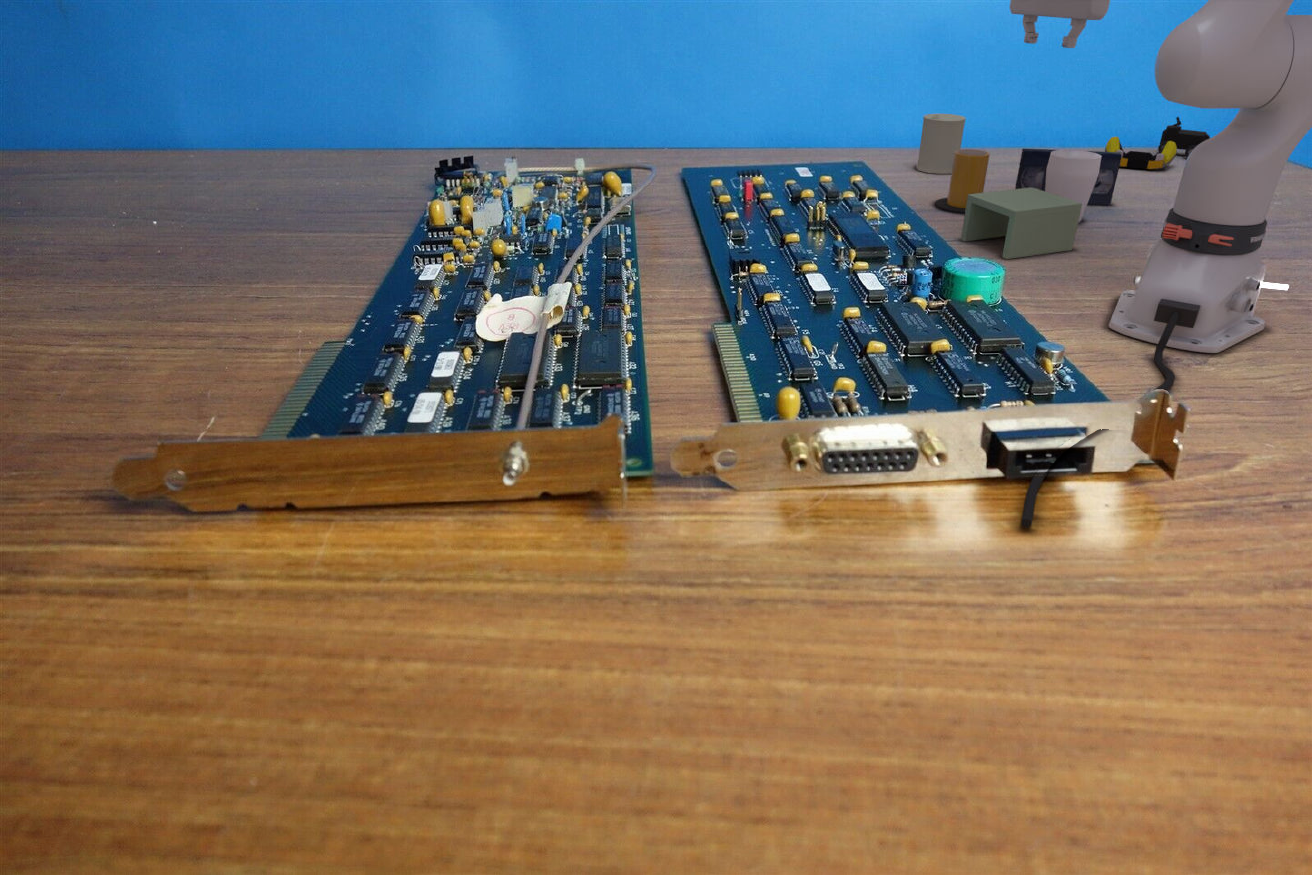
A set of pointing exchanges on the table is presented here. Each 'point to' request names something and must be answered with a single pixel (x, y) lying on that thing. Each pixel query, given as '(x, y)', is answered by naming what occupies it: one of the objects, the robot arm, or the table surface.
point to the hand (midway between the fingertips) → (1048, 45)
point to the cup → (1072, 175)
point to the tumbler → (967, 175)
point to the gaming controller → (1143, 155)
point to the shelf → (1022, 221)
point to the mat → (948, 206)
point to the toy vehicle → (1182, 137)
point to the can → (940, 142)
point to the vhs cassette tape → (1036, 165)
